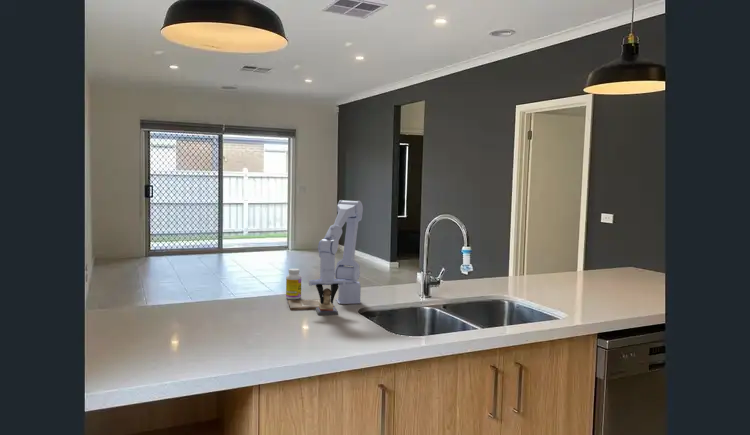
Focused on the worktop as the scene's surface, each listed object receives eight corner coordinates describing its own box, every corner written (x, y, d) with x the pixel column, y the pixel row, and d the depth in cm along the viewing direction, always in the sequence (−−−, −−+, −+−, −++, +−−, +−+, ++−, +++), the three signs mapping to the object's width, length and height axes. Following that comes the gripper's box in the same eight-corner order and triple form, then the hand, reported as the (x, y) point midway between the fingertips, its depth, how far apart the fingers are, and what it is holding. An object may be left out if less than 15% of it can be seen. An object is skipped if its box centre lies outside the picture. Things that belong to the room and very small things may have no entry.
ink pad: (334, 309, 219) (334, 306, 219) (338, 314, 211) (338, 311, 211) (315, 310, 217) (315, 307, 217) (317, 315, 209) (317, 312, 209)
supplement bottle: (299, 300, 233) (300, 270, 232) (284, 299, 233) (285, 270, 232) (302, 296, 240) (302, 268, 239) (287, 296, 240) (287, 267, 239)
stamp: (331, 307, 217) (332, 287, 216) (332, 310, 212) (334, 289, 211) (318, 307, 216) (320, 286, 215) (320, 310, 211) (321, 289, 210)
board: (329, 301, 232) (329, 298, 232) (334, 308, 220) (334, 306, 220) (287, 302, 228) (288, 299, 228) (290, 310, 216) (290, 307, 216)
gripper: (310, 271, 207) (309, 305, 208) (347, 270, 210) (346, 304, 211) (308, 268, 214) (307, 301, 215) (344, 267, 217) (343, 300, 218)
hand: (326, 302), depth 214 cm, fingers closed on stamp, 3 cm apart
